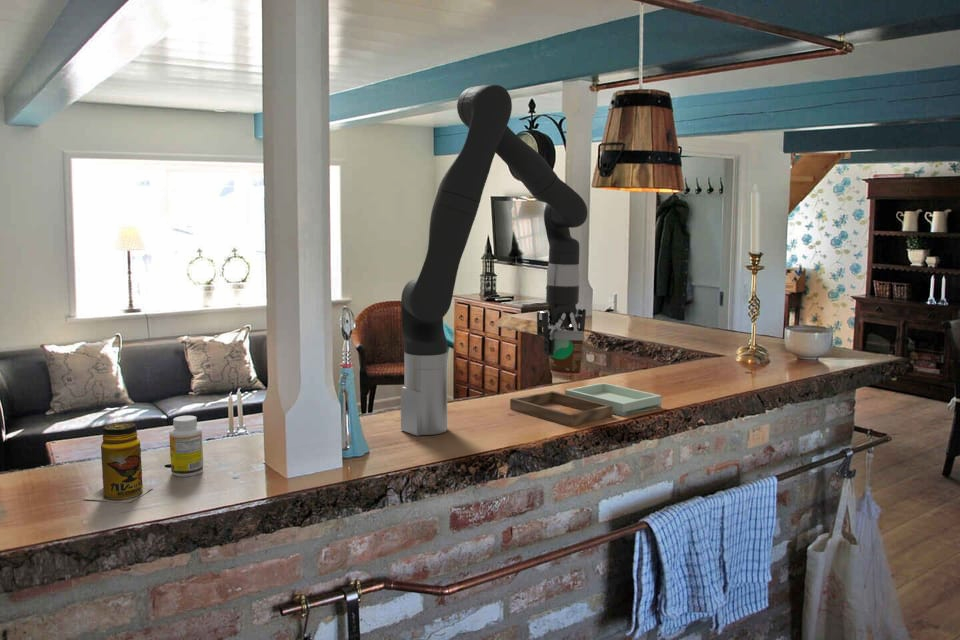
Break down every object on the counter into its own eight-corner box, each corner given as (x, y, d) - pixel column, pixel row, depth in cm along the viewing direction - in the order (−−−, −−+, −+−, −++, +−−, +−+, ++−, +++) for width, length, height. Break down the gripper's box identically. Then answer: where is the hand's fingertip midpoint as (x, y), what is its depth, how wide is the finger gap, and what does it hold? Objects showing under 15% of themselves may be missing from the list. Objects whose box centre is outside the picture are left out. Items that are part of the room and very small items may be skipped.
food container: (535, 365, 200) (537, 324, 198) (558, 364, 202) (560, 324, 201) (558, 375, 188) (560, 332, 187) (582, 374, 190) (584, 331, 189)
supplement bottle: (177, 468, 154) (175, 414, 152) (207, 468, 154) (205, 414, 152) (166, 477, 148) (163, 421, 147) (197, 478, 148) (195, 422, 147)
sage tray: (622, 416, 193) (623, 403, 193) (564, 401, 208) (565, 389, 208) (661, 407, 202) (661, 395, 202) (602, 393, 217) (603, 382, 216)
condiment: (130, 503, 135) (126, 431, 134) (82, 500, 137) (78, 429, 135) (154, 488, 143) (150, 420, 141) (108, 485, 144) (105, 418, 142)
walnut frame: (569, 426, 184) (569, 415, 184) (510, 409, 200) (510, 398, 199) (612, 416, 193) (612, 406, 193) (552, 400, 209) (552, 391, 208)
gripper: (552, 286, 185) (549, 359, 187) (596, 283, 194) (593, 353, 196) (529, 283, 191) (526, 354, 193) (572, 281, 200) (570, 349, 202)
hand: (560, 353), depth 195 cm, fingers closed on food container, 7 cm apart
